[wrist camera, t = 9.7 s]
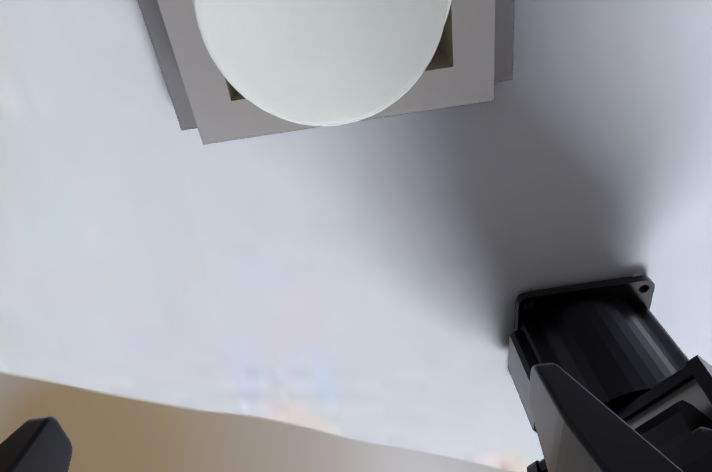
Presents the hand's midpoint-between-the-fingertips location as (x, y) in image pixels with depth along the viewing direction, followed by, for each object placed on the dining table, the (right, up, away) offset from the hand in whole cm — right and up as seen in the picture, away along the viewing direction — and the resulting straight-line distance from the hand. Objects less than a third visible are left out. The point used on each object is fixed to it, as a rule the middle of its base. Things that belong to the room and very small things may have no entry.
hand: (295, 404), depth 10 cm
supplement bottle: (0, +12, +6) cm, 14 cm away
